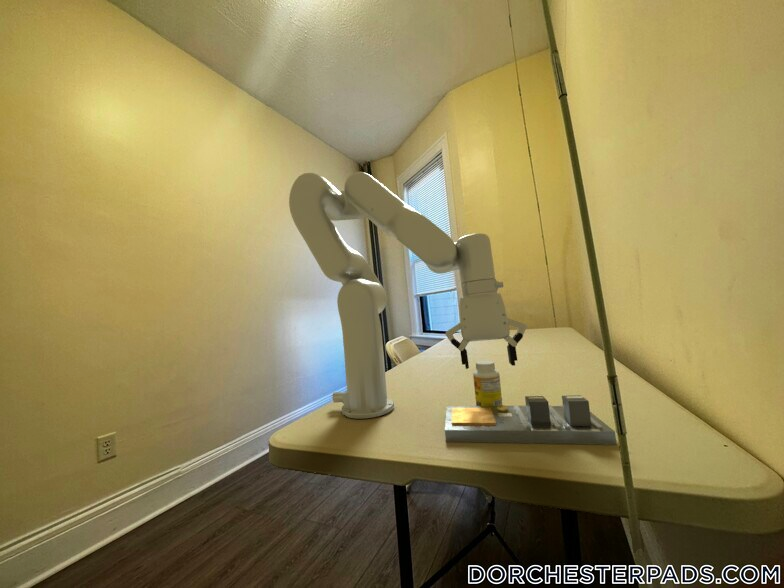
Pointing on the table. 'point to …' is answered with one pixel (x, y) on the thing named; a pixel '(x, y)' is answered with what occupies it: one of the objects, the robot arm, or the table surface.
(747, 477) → the table surface
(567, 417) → the block
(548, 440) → the panel
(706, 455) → the table surface
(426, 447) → the table surface
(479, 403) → the supplement bottle
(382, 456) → the table surface
